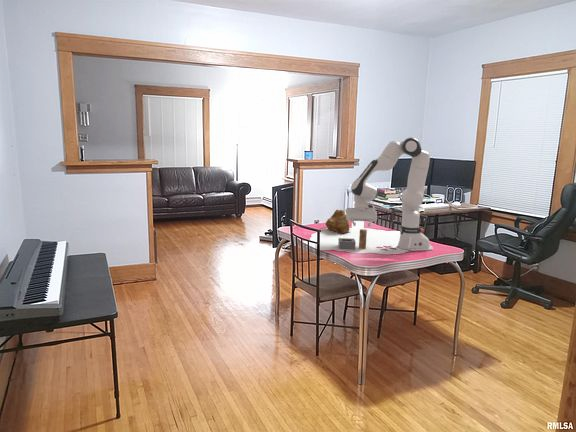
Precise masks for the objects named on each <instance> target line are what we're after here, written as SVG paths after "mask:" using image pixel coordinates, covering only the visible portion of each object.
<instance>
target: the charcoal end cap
mask: <svg viewBox="0 0 576 432" xmlns="http://www.w3.org/2000/svg"><path fill="white" fill-rule="evenodd" d="M356 243H357V242H356V240H355V238H345V237H343V238H341V237H338V243H337V245H338V250H339V249H345V250H344V251H356V250H355V246H356Z"/></svg>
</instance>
